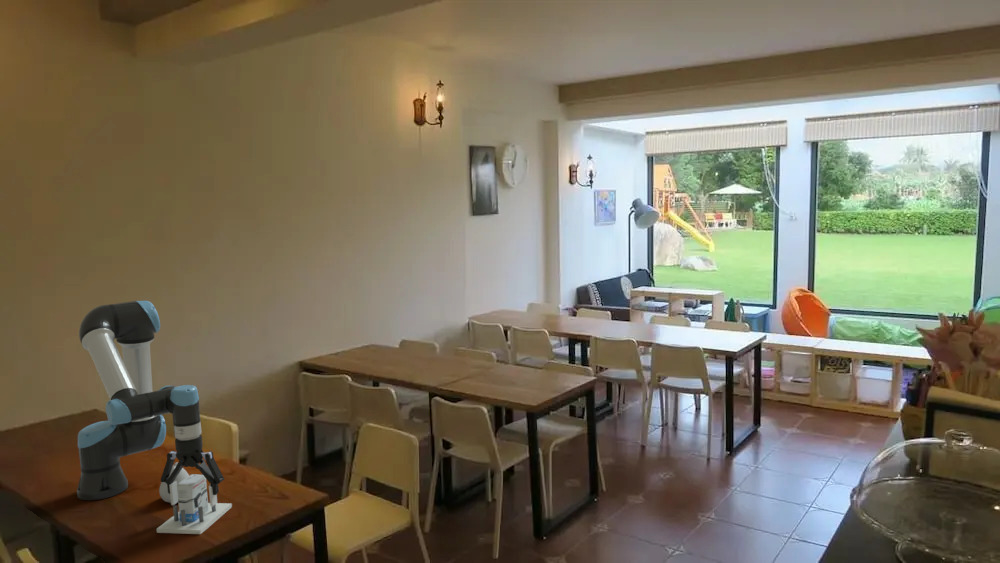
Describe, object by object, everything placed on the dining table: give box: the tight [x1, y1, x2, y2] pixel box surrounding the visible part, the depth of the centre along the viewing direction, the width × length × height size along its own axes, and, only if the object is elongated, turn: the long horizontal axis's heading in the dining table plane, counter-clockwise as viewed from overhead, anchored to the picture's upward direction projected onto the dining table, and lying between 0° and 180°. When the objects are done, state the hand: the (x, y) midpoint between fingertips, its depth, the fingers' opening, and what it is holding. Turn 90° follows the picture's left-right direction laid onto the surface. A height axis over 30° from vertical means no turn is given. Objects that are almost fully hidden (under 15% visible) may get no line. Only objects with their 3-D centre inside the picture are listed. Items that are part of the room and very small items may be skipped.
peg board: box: [156, 502, 233, 535], centre depth 214 cm, size 14×18×6 cm
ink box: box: [177, 473, 209, 522], centre depth 213 cm, size 8×5×12 cm, turn 172°
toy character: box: [158, 461, 190, 504], centre depth 229 cm, size 10×10×12 cm
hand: (194, 503), depth 214 cm, fingers open, 12 cm apart
